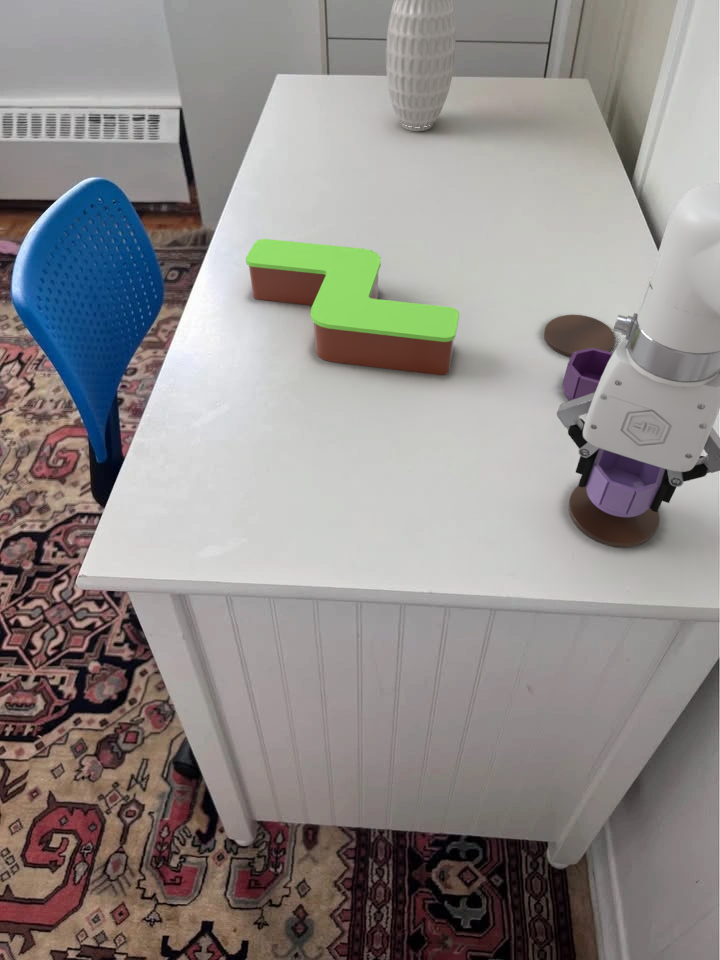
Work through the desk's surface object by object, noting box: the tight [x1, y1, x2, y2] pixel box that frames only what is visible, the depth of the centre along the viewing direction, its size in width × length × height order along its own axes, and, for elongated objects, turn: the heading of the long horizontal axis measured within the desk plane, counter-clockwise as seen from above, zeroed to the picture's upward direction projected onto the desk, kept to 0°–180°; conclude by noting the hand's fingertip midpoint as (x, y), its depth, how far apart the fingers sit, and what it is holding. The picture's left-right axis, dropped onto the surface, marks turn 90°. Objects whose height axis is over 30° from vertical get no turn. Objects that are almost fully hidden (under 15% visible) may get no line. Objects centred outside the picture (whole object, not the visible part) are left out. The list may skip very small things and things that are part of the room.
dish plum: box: [561, 348, 614, 401], centre depth 86 cm, size 6×6×4 cm
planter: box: [245, 238, 460, 376], centre depth 95 cm, size 30×18×6 cm, turn 78°
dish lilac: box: [586, 448, 665, 517], centre depth 71 cm, size 6×6×4 cm
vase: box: [385, 0, 457, 132], centre depth 132 cm, size 13×13×28 cm
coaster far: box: [543, 314, 616, 358], centre depth 94 cm, size 9×9×1 cm
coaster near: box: [568, 485, 660, 548], centre depth 74 cm, size 9×9×1 cm
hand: (620, 488), depth 72 cm, fingers closed on dish lilac, 6 cm apart
